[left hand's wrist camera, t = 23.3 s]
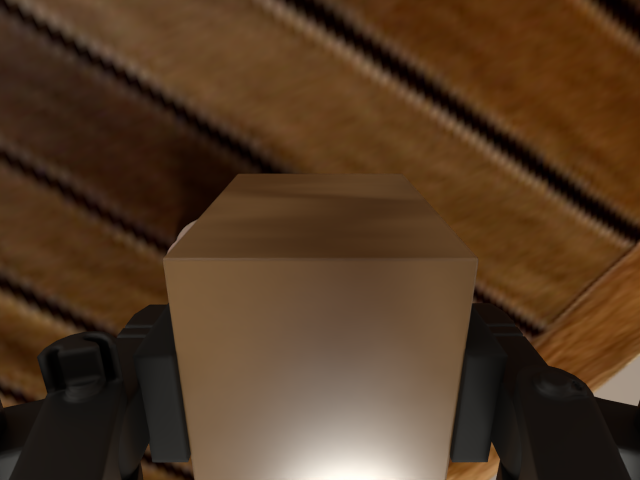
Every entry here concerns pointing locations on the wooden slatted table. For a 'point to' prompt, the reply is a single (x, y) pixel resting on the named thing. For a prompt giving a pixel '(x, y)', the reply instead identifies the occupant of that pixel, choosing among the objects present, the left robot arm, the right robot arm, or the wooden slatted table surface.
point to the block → (320, 329)
